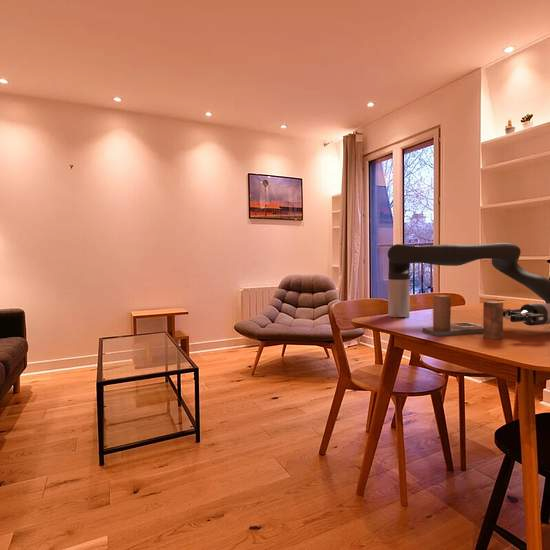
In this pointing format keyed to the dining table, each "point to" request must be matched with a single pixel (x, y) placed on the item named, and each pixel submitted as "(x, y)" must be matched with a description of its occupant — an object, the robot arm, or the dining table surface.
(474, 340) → the dining table surface
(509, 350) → the dining table surface
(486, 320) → the wooden post
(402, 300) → the robot arm
